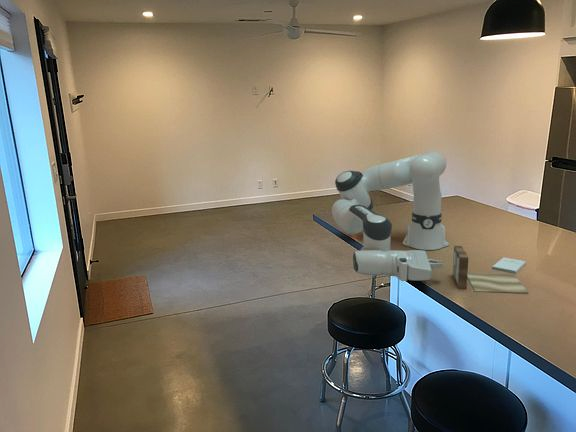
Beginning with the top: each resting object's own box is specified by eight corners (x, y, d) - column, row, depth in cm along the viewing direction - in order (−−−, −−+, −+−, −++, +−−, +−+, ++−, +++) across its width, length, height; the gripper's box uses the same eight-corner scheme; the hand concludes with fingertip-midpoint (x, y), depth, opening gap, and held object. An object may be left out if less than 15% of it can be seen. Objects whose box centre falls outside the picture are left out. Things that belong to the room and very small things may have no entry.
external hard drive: (491, 270, 170) (502, 260, 179) (515, 275, 165) (525, 265, 174) (491, 266, 170) (502, 256, 179) (516, 271, 164) (526, 261, 173)
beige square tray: (465, 273, 166) (465, 272, 166) (513, 275, 164) (513, 274, 163) (474, 291, 151) (475, 290, 151) (528, 293, 148) (528, 292, 148)
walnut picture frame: (452, 275, 165) (453, 245, 163) (459, 275, 165) (461, 245, 162) (457, 288, 154) (459, 257, 151) (466, 289, 153) (468, 257, 151)
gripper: (398, 261, 171) (438, 262, 169) (401, 283, 152) (446, 285, 149) (399, 245, 170) (438, 246, 167) (402, 264, 150) (447, 266, 148)
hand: (442, 264), depth 158 cm, fingers closed
